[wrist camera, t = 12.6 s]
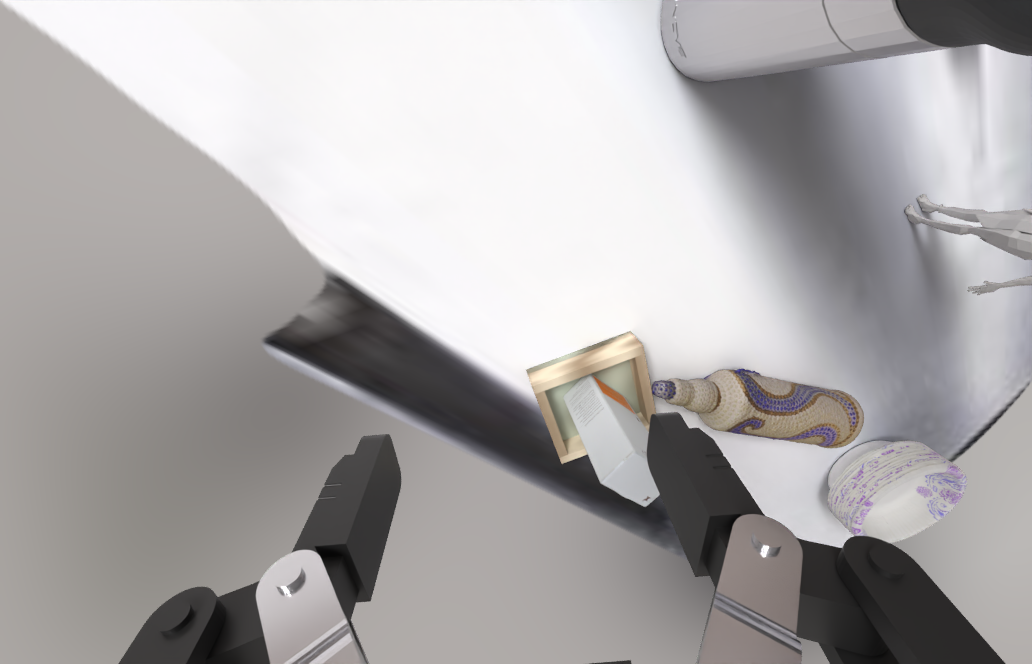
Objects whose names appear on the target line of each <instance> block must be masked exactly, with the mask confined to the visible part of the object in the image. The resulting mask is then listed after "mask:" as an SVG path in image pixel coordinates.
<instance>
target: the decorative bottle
mask: <svg viewBox="0 0 1032 664" xmlns="http://www.w3.org/2000/svg"><path fill="white" fill-rule="evenodd" d="M743 372H744V373H743ZM652 394H654V395H656V396H658V397H661V398H664V399H665V400H666V402H668V403H670V404H675V405H678V406H684V407H685V408H686V409H688V410H690V411H693V412H698V413H699V415H700V417H701V419H702V420H703V422H704V423H705V424H706V425H708V426H709V427H710V428H712V429H715V430H719V431H726V432H732V433H737V434H745V435H753V436H758V437H765V438H770V439H779V440H786V441H792V442H797V443H807V444H815V445H818V446H820V447H824V448H838V447H842V446H845V445H847V444H849V443H851V442H852V441H854V440H855V438H856V437H857V436H858V434H859V433H860V431H861V429H862V426H863V423H864V413H863V410H862V408H861V406H860V404H859V403H858V401H857V400H856V399H854V398H853V397H852V396H851V395H849V394H847V393H845V392H843V391H839V390H828V389H823V388H819V387H811V386H806V385H801V384H796V383H793V382H787V381H782V380H778V379H773V378H768V377H764V376H760V374H759V373H757V372H755V371H749V370H745V369H738V370H737V371H735V370H720V371H717V372H715V373H713V374H712V375H709V376H707V377H706V378H704V379H693V380H688V381H687V380H681V379H669V380H668V381H662V380H661V381H655V382H654V383H653V386H652Z"/></svg>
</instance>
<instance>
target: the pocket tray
mask: <svg viewBox="0 0 1032 664" xmlns="http://www.w3.org/2000/svg"><path fill="white" fill-rule="evenodd" d="M527 373H528V376H529V379H530V382H531V385H532V388H533V391H534V393H535V396H536V398H537V401H538V404H539V406H540V409H541V411H542V414H543V417H544V419H545V422H546V424H547V427H548V429H549V432H550V435H551V437H552V440H553V442H554V445H555V448H556V450H557V453H558V455H559V458H560V460H561V463H562V464H563V463H565V462H568V461H571V460H573V459H576V458H579V457H582V456H584V455H587V451H586V449H585V447H584V444H583V442H582V440H581V438H580V435H579V433H578V431H577V429H576V426H575V424H574V422H573V419H572V417H571V415H570V413H569V410H568V408H567V406H566V404H565V401H564V399H563V397H564V395H565V394H566V393H567V392H568V391H569V390H570V389H571V388H572V387H573V386H574V385H575V384H576V383H577V382H578V381H579V380H580V379H581V378H582V377H583V376H586V375H588V374H591V373H592V374H593V375H594V376H596V377H597V378H599V379H600V380H601V381H603V382H604V383H605V384H607V385H608V386H610V387H611V388H613V389H614V390H616V391H617V392H619V393H620V394H622V395H624V396H625V398H626V399H627V401H628V402H629V404H630V405H631V407H632V408H633V410H634V412H635V413H636V415H637V416H638V418H639V419H640V421H641V422H642V424H643V425H644V426H645V428H646V429H647V431H648V432H649V426H650V418H651V415H652V414H656V410H655V405H654V400H653V395H652V390H651V384H650V379H649V374H648V369H647V363H646V358H645V353H644V348H643V345H642V344H641V343H640V342H639V340H638V339H637V338H636V337H635V336H634V335H633V334H632V333H631V331H630V332H627V333H624V334H622V335H619V336H616V337H614V338H611V339H608V340H606V341H603V342H600V343H597V344H595V345H592V346H589V347H587V348H584V349H581V350H579V351H576V352H573V353H570V354H568V355H565V356H562V357H560V358H557V359H554V360H552V361H549V362H546V363H543V364H541V365H538V366H535V367H533V368H530V369H527Z"/></svg>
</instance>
